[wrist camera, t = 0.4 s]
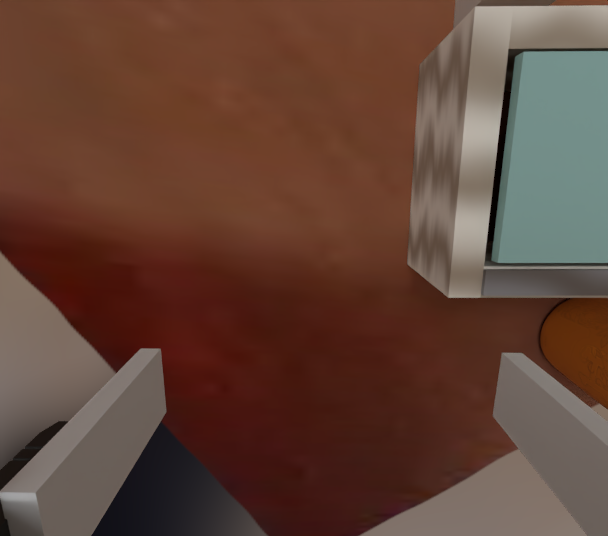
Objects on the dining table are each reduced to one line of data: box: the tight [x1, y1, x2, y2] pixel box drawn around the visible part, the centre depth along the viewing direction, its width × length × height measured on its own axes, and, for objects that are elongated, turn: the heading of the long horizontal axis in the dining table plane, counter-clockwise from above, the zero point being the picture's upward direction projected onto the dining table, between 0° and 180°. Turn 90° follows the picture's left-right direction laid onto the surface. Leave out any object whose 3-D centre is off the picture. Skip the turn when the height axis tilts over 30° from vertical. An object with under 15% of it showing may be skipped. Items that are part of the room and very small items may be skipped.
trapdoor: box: [491, 51, 608, 263], centre depth 25 cm, size 14×14×1 cm
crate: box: [407, 5, 608, 298], centre depth 32 cm, size 20×20×12 cm
